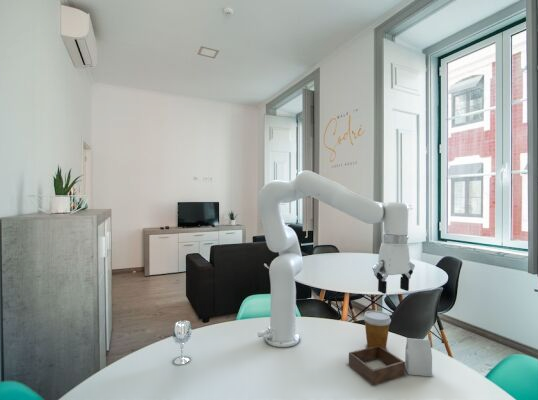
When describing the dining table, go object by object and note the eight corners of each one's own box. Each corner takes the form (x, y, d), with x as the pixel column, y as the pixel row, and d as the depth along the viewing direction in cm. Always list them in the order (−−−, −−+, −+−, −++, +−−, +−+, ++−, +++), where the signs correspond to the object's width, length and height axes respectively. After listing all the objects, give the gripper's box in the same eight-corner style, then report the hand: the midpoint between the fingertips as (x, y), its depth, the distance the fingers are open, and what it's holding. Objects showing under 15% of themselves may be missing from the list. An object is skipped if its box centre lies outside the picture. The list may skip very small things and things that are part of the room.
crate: (373, 385, 84) (373, 371, 84) (348, 365, 95) (348, 352, 95) (405, 375, 90) (405, 362, 90) (378, 357, 100) (378, 345, 100)
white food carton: (431, 376, 89) (432, 343, 89) (408, 374, 90) (408, 341, 90) (427, 369, 93) (428, 337, 93) (405, 367, 94) (405, 335, 94)
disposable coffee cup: (387, 343, 110) (387, 310, 110) (393, 356, 101) (394, 320, 101) (361, 341, 111) (361, 309, 111) (365, 354, 102) (365, 319, 102)
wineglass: (194, 358, 97) (195, 321, 97) (181, 367, 91) (182, 328, 92) (181, 354, 99) (182, 318, 99) (167, 362, 94) (168, 324, 94)
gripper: (405, 237, 105) (404, 285, 105) (367, 238, 98) (365, 290, 98) (423, 240, 99) (421, 292, 98) (383, 241, 91) (381, 297, 91)
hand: (393, 291), depth 98 cm, fingers open, 9 cm apart
